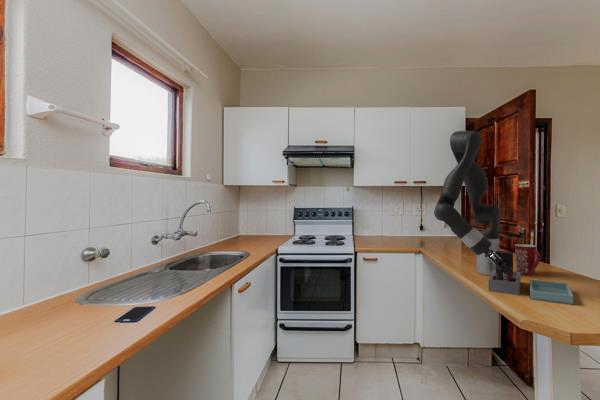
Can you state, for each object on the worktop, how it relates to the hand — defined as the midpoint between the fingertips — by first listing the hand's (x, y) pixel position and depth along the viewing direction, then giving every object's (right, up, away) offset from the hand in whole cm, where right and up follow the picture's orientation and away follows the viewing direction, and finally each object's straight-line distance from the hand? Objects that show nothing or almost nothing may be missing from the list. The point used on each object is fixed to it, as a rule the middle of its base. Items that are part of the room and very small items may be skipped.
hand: (509, 271), depth 128 cm
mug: (+26, -7, +27) cm, 38 cm away
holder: (+2, -7, +5) cm, 9 cm away
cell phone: (-136, -9, -23) cm, 138 cm away
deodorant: (-2, -7, +1) cm, 8 cm away
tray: (+11, -7, -6) cm, 15 cm away
